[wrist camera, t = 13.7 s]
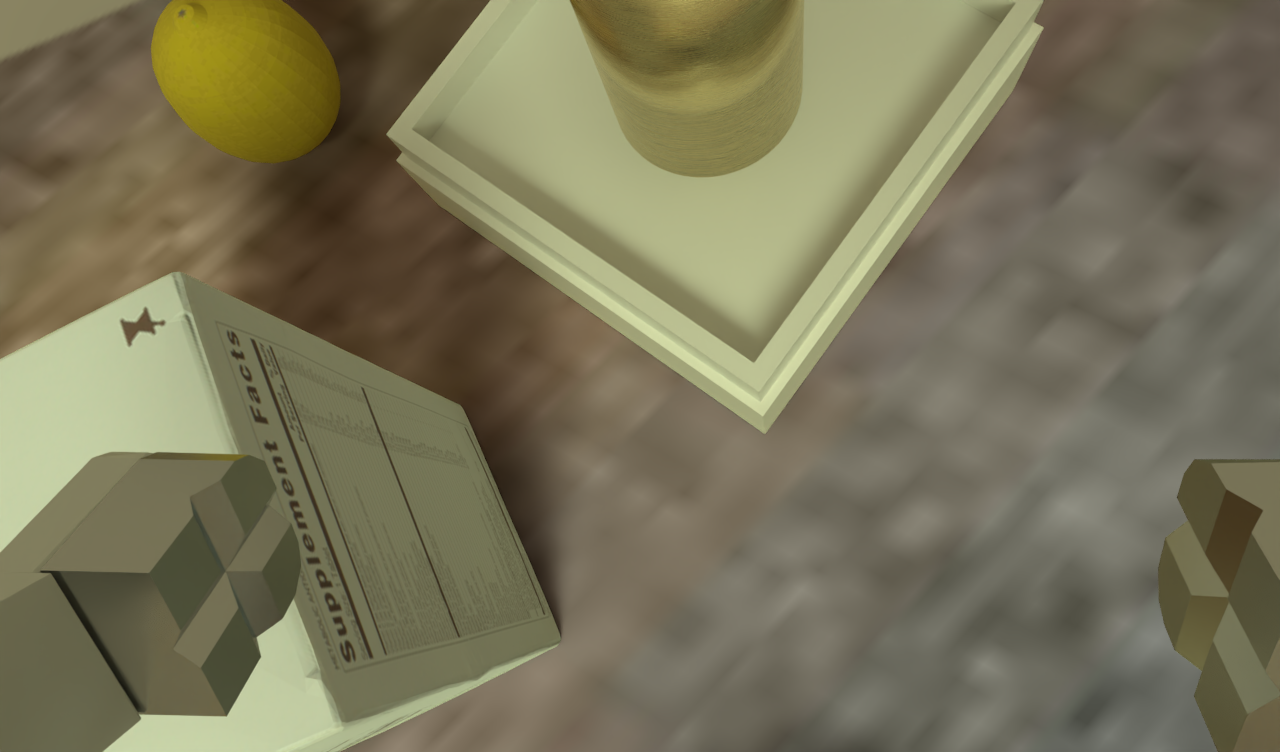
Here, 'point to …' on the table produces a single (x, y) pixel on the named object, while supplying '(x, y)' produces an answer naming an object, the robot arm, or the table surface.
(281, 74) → the lemon
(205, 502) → the robot arm
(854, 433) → the table surface
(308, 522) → the supplement box
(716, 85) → the cylinder
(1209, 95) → the table surface
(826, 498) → the table surface
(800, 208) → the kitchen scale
